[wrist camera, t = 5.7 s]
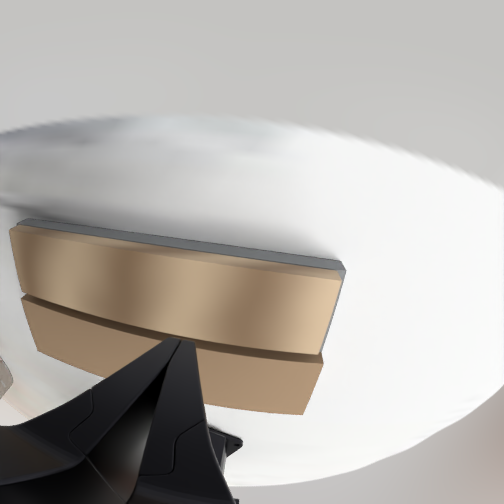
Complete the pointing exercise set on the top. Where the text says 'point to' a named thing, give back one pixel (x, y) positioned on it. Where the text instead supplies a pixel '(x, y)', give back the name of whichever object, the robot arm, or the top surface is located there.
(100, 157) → the top surface
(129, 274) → the plank
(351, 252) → the top surface
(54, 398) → the top surface
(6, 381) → the thermos bottle
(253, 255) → the floor panel
